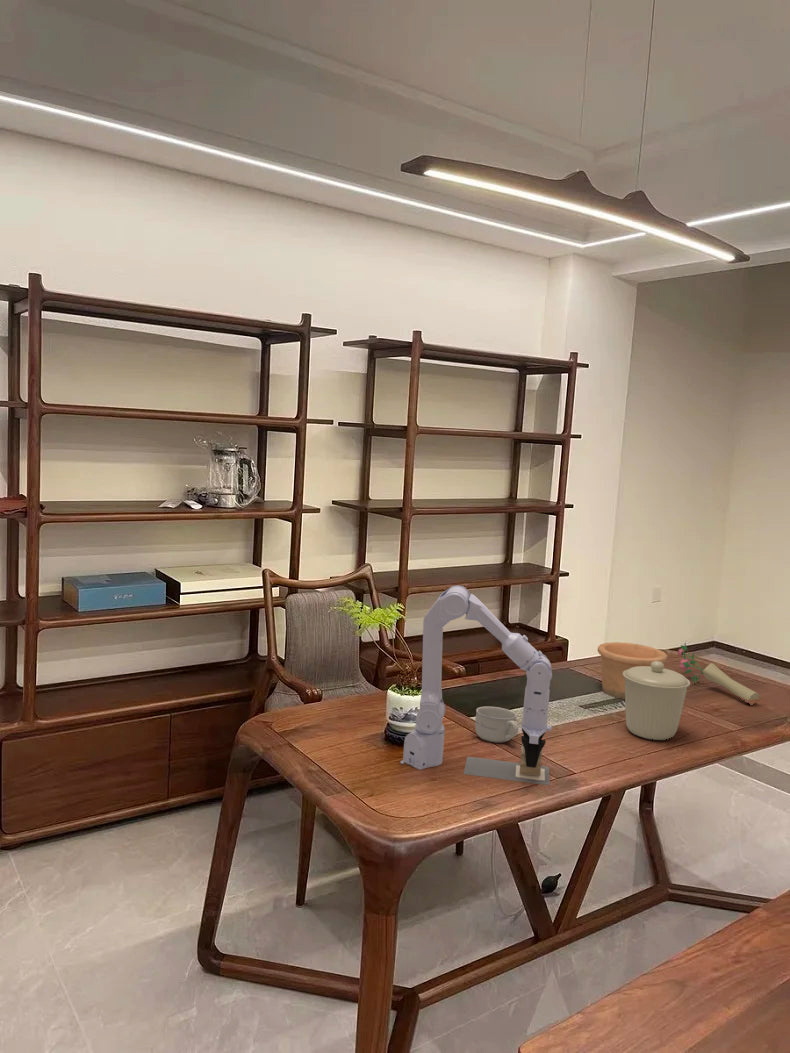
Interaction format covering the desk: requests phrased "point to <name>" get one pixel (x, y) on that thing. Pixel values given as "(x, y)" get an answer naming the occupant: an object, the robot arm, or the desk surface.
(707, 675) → the flower vase
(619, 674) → the pottery
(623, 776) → the desk surface
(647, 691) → the canister
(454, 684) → the desk surface
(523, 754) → the tan u-shaped block
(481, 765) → the board
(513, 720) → the teacup
